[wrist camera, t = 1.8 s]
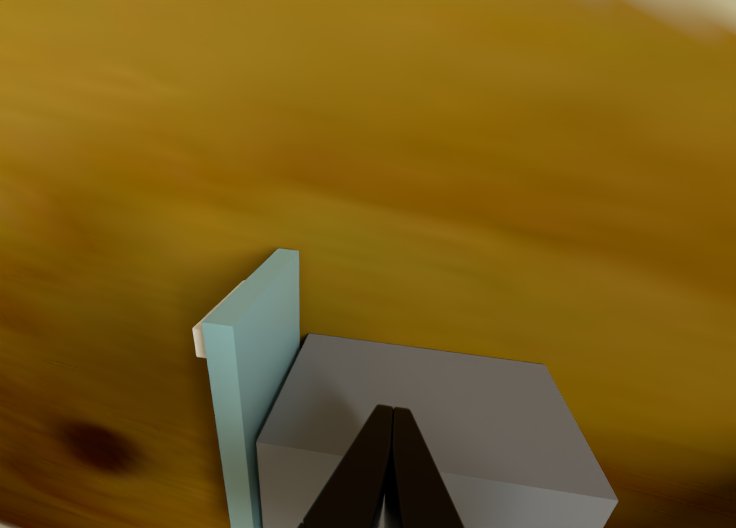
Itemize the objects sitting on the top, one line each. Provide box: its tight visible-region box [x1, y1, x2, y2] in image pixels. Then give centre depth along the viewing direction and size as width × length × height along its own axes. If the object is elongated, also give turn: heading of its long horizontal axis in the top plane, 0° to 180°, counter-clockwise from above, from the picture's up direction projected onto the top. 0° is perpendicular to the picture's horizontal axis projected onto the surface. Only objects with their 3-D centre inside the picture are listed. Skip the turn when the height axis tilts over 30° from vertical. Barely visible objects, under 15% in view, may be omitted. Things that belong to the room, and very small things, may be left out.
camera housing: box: [256, 333, 618, 528], centre depth 15 cm, size 14×10×6 cm
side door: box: [192, 248, 300, 528], centre depth 14 cm, size 16×2×5 cm, turn 176°
